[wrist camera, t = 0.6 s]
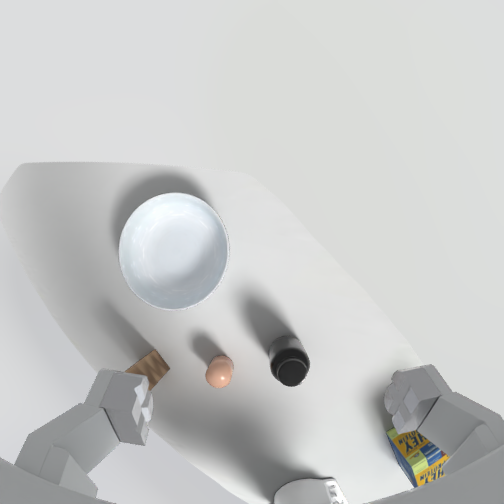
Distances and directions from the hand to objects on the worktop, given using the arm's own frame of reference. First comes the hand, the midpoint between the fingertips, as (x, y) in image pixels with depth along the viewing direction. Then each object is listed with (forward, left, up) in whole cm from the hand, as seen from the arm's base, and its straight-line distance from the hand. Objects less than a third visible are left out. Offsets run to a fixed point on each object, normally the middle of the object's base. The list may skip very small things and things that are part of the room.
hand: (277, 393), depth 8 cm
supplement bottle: (-13, +4, -48) cm, 50 cm away
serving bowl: (+15, +9, -48) cm, 51 cm away
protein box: (-54, -6, -48) cm, 73 cm away
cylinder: (-8, +16, -48) cm, 51 cm away
